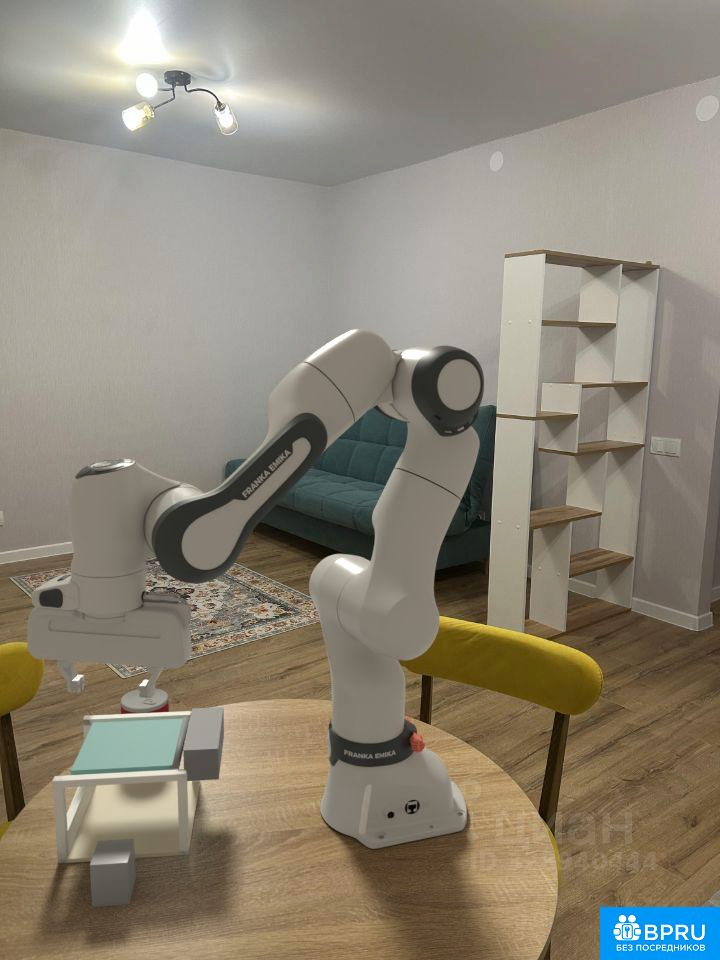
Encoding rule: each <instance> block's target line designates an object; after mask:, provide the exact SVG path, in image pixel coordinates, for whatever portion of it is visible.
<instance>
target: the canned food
mask: <svg viewBox="0 0 720 960" xmlns="http://www.w3.org/2000/svg"><path fill="white" fill-rule="evenodd" d="M139 694H140V691H139V688H138V689H134V690H131V691H128V692H126V693H125V694H124V695H123V696H122V697H121V699H120V714H136V713H159V712H170V710H169V709H170V708H169V707H170V705H169V704H170V703H169V695H168V693H167V692H166V691H165V690H162V689H160V688H155V694H154V696H153V697H152V698H140V697H139Z"/></svg>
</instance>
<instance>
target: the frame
mask: <svg viewBox="0 0 720 960" xmlns="http://www.w3.org/2000/svg"><path fill="white" fill-rule="evenodd" d="M191 712H192V710H185V711H184V710H183V711H169V712H159V713H136V714H121V713H120V714H117V713H116V714H114V713H113V714H97V715H95V714H94V715H92V714H91V715H84V716H83V718H82V727H83V728H82V730H83V731H82V732H83V742H84V741H85V739H86V737H87V735H88V732H89V730H90V728H91V726H92V724H93V723H97V722H119V721H141V720H162V719H182V718H183V717H184V716H187V717H189V719H190V717H191ZM189 722H190V720H189ZM51 784H52V796H53V798H52V799H53V809H54V810H53V811H54V824H55V825H54V826H55V837H56V838H55V841H56V850H57V853H56V855H57V864H69V863H85V862H86V863H87V862H91V860H92V857H93V855H94V852H95V849H96V846H97V843H98V841H105V840H120V839H134V848H135V859H145V858H159V857H161V858H162V857H173V856H175V857H176V856H188V855H190V848H191V842H192V841H191V840H192V834H193V830H194V829H193V827H194V823H195V819H196V818H195V816H196V811H197V804H198V798H199V792H200V785H201V780H199V781H187V769H184V768H179V769H177V770H158V771H140V772H121V773H103V774H84V775H71V774H70V775H69V774H67V775H54V777H53V779H52V782H51ZM75 787H77V789H76V791H75V794H74V796H73V797H72V801H71V803H70V805H69V807H68V809H67V799H66V788H75Z"/></svg>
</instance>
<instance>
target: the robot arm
mask: <svg viewBox="0 0 720 960" xmlns="http://www.w3.org/2000/svg"><path fill="white" fill-rule="evenodd" d="M484 391H485V377H484V372H483V369H482V366H481V363H480V362H479V361H478V359H477V358H476V357H475V356H474V355H472V354H471V353H470V352H468V351H466V350H464V349H462V348H460V347H455V346H452V345H438V346H437V345H418V346H417V345H415V346H413V347H409V348H403V349H393V350H392V349H391V347H390V345H389V344H388V343H387V341H385V340H384V338H383V337H381V336H380V335H379V334H378V333H376V332H374V331H372V330H370V329H367V328H361V327H360V328H358V327H357V328H354V329H350V330H348V331H346V332H344V333H342V334H340V335H339V336H337V337H334V339H332V340H331V341H329V342H327V343H326V344H324V345H323V346H321V347H319V348H318V349H316V350H315V351H314V352H312V353H311V354H310V355H309V356H307V357H306V358H305V359H303V360H302V361H301V362H300V363H298V365H296V366H295V367H294V368H293V369H291V371H289V372H288V373H287V374H286V375H285V376H284V377H283V378H282V380H280V382H279V383H278V384H277V385H276V386H275V388H274V389H273V390H272V391H271V393H270V394H269V395H268V398H267V403H266V418H267V422H268V430H267V434H266V437H265V439H264V440H263V442H262V443H261V444H260V446H259V447H258V448H257V449H256V450H255V451H254V452H253V453H252V454H251V455H250V456H249V457H248V458H247V459H245V461H244V462H242V463H241V465H240V466H239V467H238V468H236V469H235V471H233V472H232V474H230V475H229V477H226V479H225V480H224V481H223V482H222V483H221V484H220V485H219V486H217V487H216V488H214V489H212V490H210V491H208V492H207V491H206V492H205V491H203V490H201V489H200V488H198V487H196V486H195V485H192V484H189V483H186V482H182V481H178V480H174V479H171V478H168V477H165V476H162V475H160V474H157V473H156V472H154V471H151V470H149V469H147V467H144V466H143V465H141V464H140V463H139V462H138V461H136V460H134V459H130V458H113V459H105V460H101V461H97V462H94V463H91V464H89V465H86V466H84V467H83V468H82V469H80V470H79V471H78V472H77V474H76V475H75V476H74V478H73V481H72V483H71V488H70V497H69V510H68V512H69V513H68V514H69V515H68V517H69V520H68V521H69V538H70V541H71V543H72V547H73V557H72V560H71V562H70V563H71V564H70V572H69V573H65V574H61V575H58V576H55V577H54V578H51V579H49V580H48V581H46V582H44V583H43V584H41V585H40V586H39V587H37V588H35V589H34V590H33V591H32V592H31V594H30V595H31V596H30V598H31V599H30V600H31V604H32V606H34V608H33V609H31V611H30V613H29V616H28V618H27V619H28V620H27V633H26V636H27V637H26V639H27V640H26V643H27V644H26V646H27V650H28V653H29V654H30V655H31V656H32V657H33V658H34V659H35V660H50V661H56V663H57V664H56V665H57V669H58V670H59V672H60V674H61V675H62V676H63V678H64V679H65V680H66V691H67V692H68V693H81V692H82V691H83V689H84V688H85V682H84V681H85V675H84V674H79V673H78V671H77V670H76V668H75V666H74V663H75V662H76V663H77V662H79V663H93V664H104V665H105V664H107V665H117V666H132V667H133V666H134V667H146V668H147V669H146V670H147V674H148V675H150V677H149V679H144V680H142V682H141V683H140V684H139V685H138V689H139V691H140V694H139V697H140V698H152V697H153V696H154V694H155V689H156V681H157V680H158V678H159V676H160V675H161V673H162V672H163V670H164V669H175V670H176V669H177V670H179V669H180V668H182V666H184V665H185V663H187V661H188V660H189V659H190V657H191V655H192V649H193V648H192V638H191V630H190V624H191V621H192V608H191V607H192V606H191V605H190V603H189V602H188V600H186V599H185V598H183V597H181V596H180V594H177V593H163V592H156V591H155V592H152V591H151V592H150V591H147V573H146V572H147V569H146V567H147V563H146V561H147V560H148V559H150V558H156V560H157V562H158V563H159V566H160V567H161V568H162V570H163V571H164V573H166V574H167V575H168V576H170V577H171V578H173V579H174V580H176V581H179V582H182V583H187V584H204V583H208V582H210V581H214V580H216V579H217V578H220V577H222V576H224V574H226V573H227V572H228V571H229V570H230V569H231V568H232V567H233V566H234V564H235V563H236V562H237V561H238V559H239V557H240V554H241V553H242V551H243V549H244V547H245V545H246V543H247V541H248V539H249V537H250V535H251V534H252V532H253V531H254V529H256V527H257V526H258V524H259V523H260V522H261V521H262V520H263V519H264V518H265V516H266V515H268V513H269V512H271V510H272V509H273V508H274V507H275V506H276V505H277V504H278V503H279V502H280V501H281V500H282V499H283V498H285V496H287V494H288V493H289V491H291V490H292V489H293V487H294V486H295V485H296V484H297V483H298V482H299V481H300V480H301V479H302V478H303V477H304V476H305V475H306V474H307V473H308V472H309V471H310V469H311V468H313V466H314V465H315V463H317V461H318V460H319V458H320V457H321V456H322V455H323V453H325V451H326V450H328V448H329V447H330V446H331V445H332V444H333V443H335V442H336V441H337V439H339V438H340V437H341V436H342V435H343V434H344V433H345V432H347V431H348V430H349V428H351V427H352V426H354V424H355V423H356V422H357V421H358V420H359V419H361V418H362V417H364V415H365V414H366V413H367V411H370V410H371V409H374V410H375V411H376V412H378V413H379V414H380V415H382V416H384V417H386V418H388V419H390V420H391V419H392V420H395V421H396V420H397V421H403V422H407V424H406V425H407V437H406V442H405V445H404V449H403V451H402V453H401V455H400V456H399V458H398V459H397V462H396V464H395V466H394V468H393V470H392V472H391V473H390V475H389V478H388V480H387V482H386V484H385V486H384V488H383V491H382V492H381V495H380V496H379V498H378V501H377V503H376V504H375V506H374V509H373V511H372V515H371V522H372V526H373V529H374V530H373V531H374V545H373V550H372V555H371V559H370V560H369V559H366V558H365V557H362V556H359V555H355V554H345V553H335V554H331V555H328V556H326V557H324V558H323V559H321V560H320V562H318V563H317V565H316V566H314V568H313V570H312V573H311V575H310V577H309V580H308V581H309V582H308V583H309V584H308V592H309V595H310V598H311V600H312V602H313V604H314V607H315V608H316V612H317V614H318V618H319V621H320V622H319V623H320V627H321V631H322V635H323V641H324V645H325V651H326V655H327V656H326V657H327V660H328V661H327V662H328V665H329V672H330V680H331V718H330V721H329V724H328V731H327V757H328V760H329V767H328V773H327V778H326V779H327V780H326V784H325V788H324V793H323V795H322V797H321V798H322V799H321V802H320V805H319V806H320V807H319V810H320V813H321V817H322V818H323V820H324V821H325V823H327V825H329V826H330V828H332V829H334V830H335V831H337V832H339V833H341V834H343V835H346V836H350V837H352V838H354V839H356V840H357V841H359V842H360V843H361V844H362V845H363V846H365V847H367V848H369V849H373V850H375V849H377V850H378V849H381V848H385V847H390V846H394V845H400V844H405V843H409V842H414V841H420V840H425V839H428V838H433V837H439V836H443V835H449V834H452V833H453V834H454V833H457V832H461V831H463V830H464V829H465V827H466V825H467V821H468V811H467V804H466V801H465V798H464V795H463V793H462V791H461V790H460V788H459V787H458V785H457V784H456V783H455V782H454V781H453V779H452V778H451V777H450V774H449V772H448V769H447V767H446V765H445V764H444V762H443V760H442V759H441V758H440V756H438V754H437V753H436V752H434V751H433V750H430V749H429V748H428V747H426V744H425V741H424V738H423V737H422V735H421V734H419V733H418V728H417V727H416V725H415V724H414V723H413V721H412V719H411V718H410V716H409V715H407V716H406V717H405V714H406V713H405V711H406V710H405V709H406V708H405V707H406V678H405V677H406V676H405V673H404V671H403V668H402V665H401V664H400V661H411V660H414V659H417V658H418V657H420V656H422V655H423V654H425V653H426V652H427V651H428V650H429V648H431V646H432V645H433V643H434V641H435V639H436V637H437V635H438V632H439V629H440V621H441V618H440V613H439V609H438V605H437V602H436V599H435V590H434V589H435V588H434V587H435V574H436V569H437V563H438V562H437V561H438V557H439V553H440V549H441V546H442V544H443V541H444V539H445V536H446V534H447V532H448V529H449V527H450V525H451V522H452V521H453V518H454V516H455V514H456V512H457V509H458V508H459V506H460V503H461V501H462V500H463V499H462V498H463V497H464V494H465V492H466V490H467V488H468V485H469V482H470V480H471V478H472V475H473V471H474V468H475V467H476V466H475V465H476V461H477V459H478V458H477V457H478V455H479V454H478V453H479V450H480V437H479V434H478V433H477V431H476V430H475V429H474V427H473V426H472V425H474V423H475V422H476V421H477V419H478V417H479V408H480V407H481V404H482V401H483V398H484ZM406 718H407V719H406Z"/></svg>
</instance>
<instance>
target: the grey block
mask: <svg viewBox="0 0 720 960" xmlns="http://www.w3.org/2000/svg"><path fill="white" fill-rule="evenodd" d="M89 872H90V873H89V874H90V875H89V876H90V886H91V887H90V889H91V907H92V908H93V907H95V908H96V907H105V906H120V905H130V904H131V899H132V896H133V892H134V887H135V883H136V880H137V879H136V878H137V875H136V873H137V872H136V858H135V848H134V839H120V840H105V841H98V843H97V846H96V849H95V852H94V855H93V857H92V860H91V861H90V864H89Z"/></svg>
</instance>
